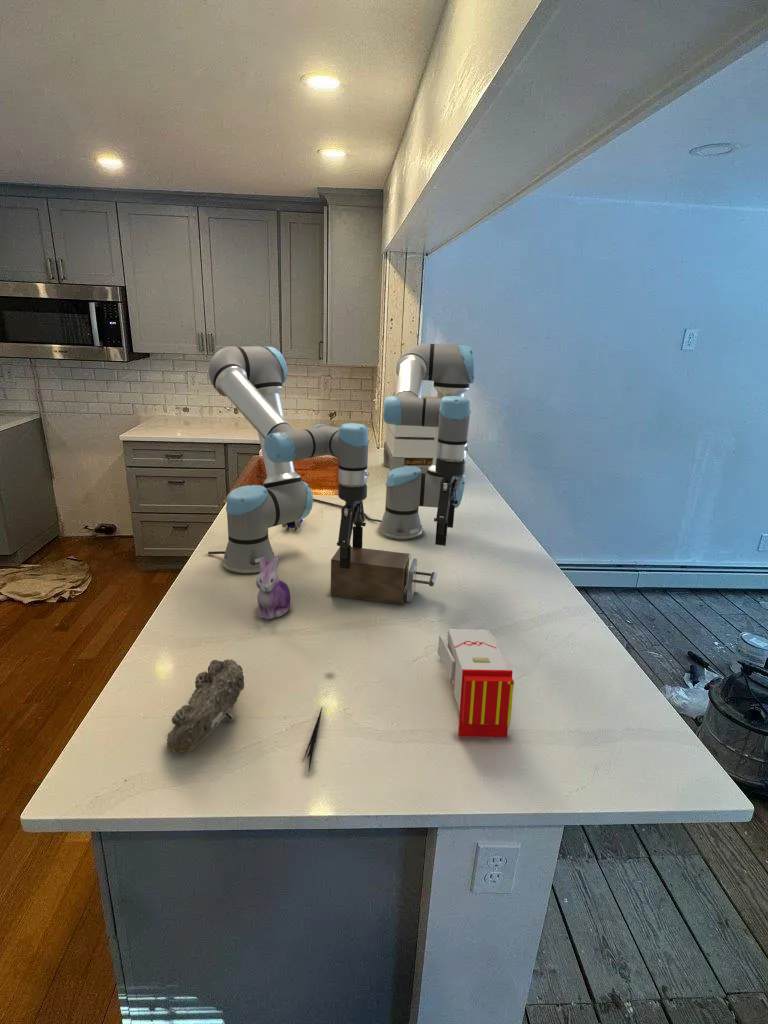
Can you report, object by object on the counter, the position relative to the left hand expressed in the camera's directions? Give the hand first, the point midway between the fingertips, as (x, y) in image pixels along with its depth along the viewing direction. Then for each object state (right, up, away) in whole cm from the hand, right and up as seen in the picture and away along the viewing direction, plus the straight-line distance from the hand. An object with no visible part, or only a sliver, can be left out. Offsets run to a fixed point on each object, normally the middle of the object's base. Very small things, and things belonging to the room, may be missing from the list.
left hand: (351, 557), depth 156 cm
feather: (-3, -27, -47) cm, 54 cm away
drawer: (+11, -10, +1) cm, 14 cm away
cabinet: (+5, -10, +3) cm, 11 cm away
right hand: (+25, +6, -4) cm, 26 cm away
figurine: (-19, -13, -10) cm, 25 cm away
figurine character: (-23, +7, +47) cm, 53 cm away
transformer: (+26, +31, +119) cm, 126 cm away
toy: (+27, -25, -37) cm, 52 cm away
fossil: (-24, -27, -48) cm, 59 cm away
